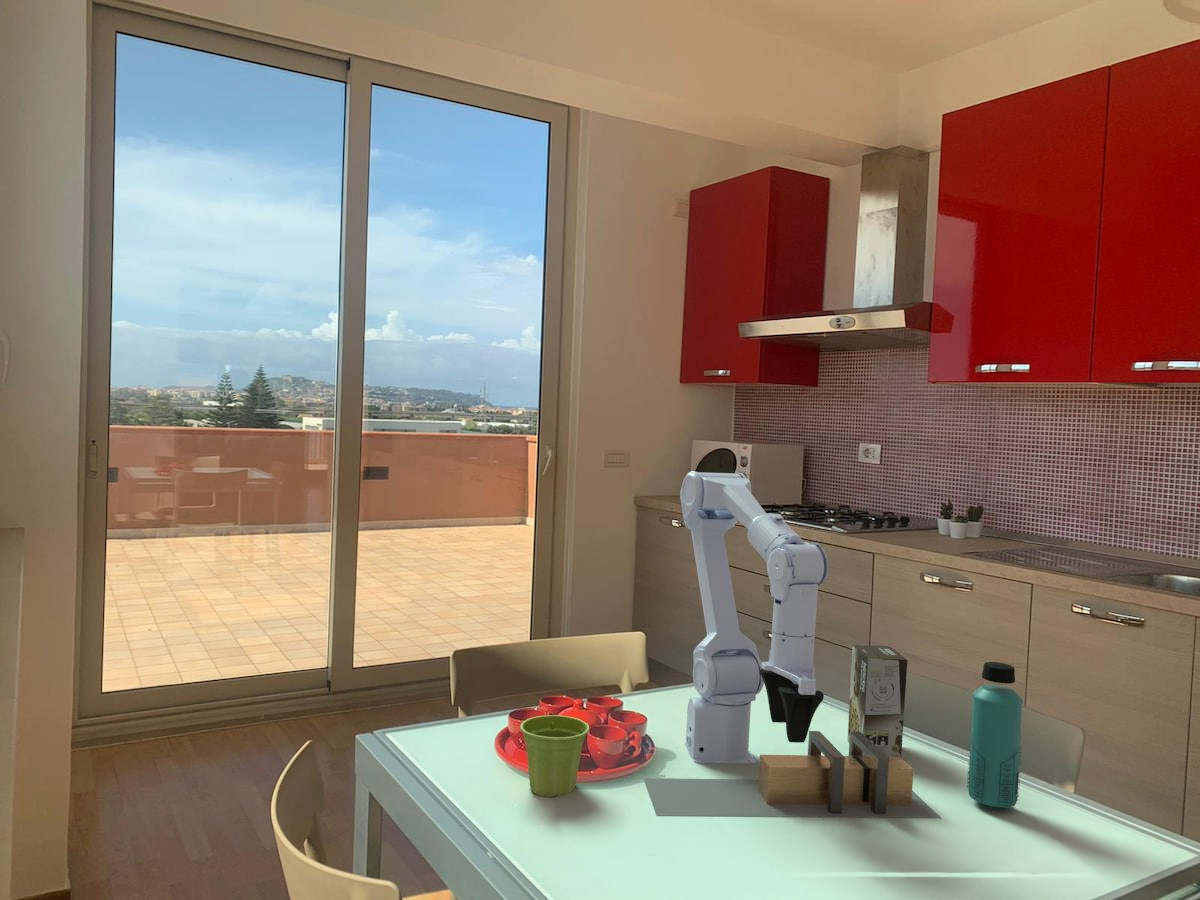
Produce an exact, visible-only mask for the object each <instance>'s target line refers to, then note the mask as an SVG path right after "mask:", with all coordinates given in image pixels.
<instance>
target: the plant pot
mask: <svg viewBox="0 0 1200 900" xmlns="http://www.w3.org/2000/svg"><path fill="white" fill-rule="evenodd" d="M519 729H520V731H521V732H522V733H523V740H524V742H525V746H526V747H525V748H526V757H527V768H528V780H529V788H530V789H531V791H532V793H534V794H536V795H539V796H543V797H547V798H549V797H550V798H552V797H554V796H557V795H558V796H563V795H568V794H569V793H572V792H574V790H575V789H576V784H577V776H578V771H579V766H580V760H581V753H582V749H583V744H584V742H585V740H586V736H587V734H588V733H589V731H590V726H589V724H588V722H585V721H583V720H582V719H580V718H577V717H572V716H568V715H561V714H559V715H558V714H557V715H556V714H555V715H553V714H552V715H551V714H547V715H539V716H533V717H530V718H527V719H525V720H523V721H522V722H521V723H520V727H519Z"/></svg>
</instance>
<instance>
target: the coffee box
mask: <svg viewBox="0 0 1200 900" xmlns="http://www.w3.org/2000/svg"><path fill="white" fill-rule="evenodd" d="M851 646H852V647H851V648H852V651H851V652H852V653H851V664H850V665H851V667H850V686H849V687H850V689H849V705H848V706H849V709H848V726H847V727H848V728H847V742H848V743H849V741H850V732H861V733H862V734H863V735H864V736H865V737H866V738H868V739H869V740H870V741H871V742H872V743H873V744H874V745H875V746H876V747H877V748H879V749H880V750H881V751H882V752H883V753H884V754H885V755H886V756H887V757H900V758H901V759H902V754H903V753H902V751H903V737H904V736H903V734H904V721H905V720H904V717H905V704H906V701H905V700H906V692H907V691H906V690H907V687H906V686H907V673H908V672H907V671H908V662H909V660H908V658H906V657H905V656H903V655H902V654H901V653H899V652H898V651H896V650H895V649H894V648H893V647H891V646H890V645H867V644H866V645H861V644H860V645H857V644H853V645H851ZM862 756H867V755H866V754H865V753H864V752H863V751H862Z"/></svg>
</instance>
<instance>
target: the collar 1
mask: <svg viewBox="0 0 1200 900" xmlns="http://www.w3.org/2000/svg"><path fill="white" fill-rule="evenodd" d="M807 744H808V746H807V755H816V756H822V754H823V756H826V757H827V758H828V759H829V760H830V773H829V790H828V807H827V810H828V811H829V812H830V814H842V799H843V782H844V764H845V757H844V756H845V755H843V753H841V751H840V750H838V749H837V747H835V745H834V744H833V743H831V742H830V740H829V739H828V738H827V737H826V736H825V735H824V734H823V733H822V732H821V731H820V730H808V743H807Z"/></svg>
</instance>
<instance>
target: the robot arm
mask: <svg viewBox="0 0 1200 900" xmlns="http://www.w3.org/2000/svg"><path fill="white" fill-rule="evenodd" d="M679 498H680V499H679V500H680V503H681V511H682V518H683V522H684V523H683V524H684V526H685V528H687V529H689V530H690V532H691V540H692V545H693V552H694V559H695V566H696V572H697V573H696V574H697V579H698V584H699V591H700V598H701V604H702V610H703V611H702V612H703V616H704V623H705V630H706V636H705V637H704V639H702V641H700V642H699V644H697V645H696V647H695V648H694V650H693V652H692V657H693V667H692V680H693V684H694V688H695V690H696V692H697V693H698V695H699V696H696V697H691V698H689V699H688V702H687V712H686V713H687V715H686V730H685V731H686V732H685V742H684V746H685V748H686V750H687V752H688V754H689V756H690V758H691V760H692V761H693V763H695V764H725V765H726V764H730V765H731V764H733V765H735V764H737V765H740V764H741V765H743V764H744V765H755V764H757V761H756V759H755V757H753V755H752V753H751V752H750V750H749V746H750V745H749V744H750V727H751V708H752V702H754V701H756V700H757V699H756V698H757V697H756V696H757V695H758V694H760V693H761V691H762V690H763V687H765V691H766V695H767V696H766V697H767V701H768V708H769V714H770V719H771V722H772V723H778V724H779V723H781V724H782V723H783V724H784V723H785V730H786V737H787V741H788V742H789V743H801V744H803V743H805V742H806V739H807V736H808V734H809V731H810V726H811V723H812V720H813V718H814V715H815V713H816V711H817V710H818V708H819V706H820V705H821V704H822V702H823V700H824V697H825V694H824V693H823V692H822V691H821V690H817V679H816V678H815V666H814V658H815V657H814V655H815V639H816V623H817V622H816V621H817V605H818V593H819V592H818V591H819V590H818V589H819V586H821V585H822V584H824V582H825V581H826V580H827V577H828V573H829V559H828V556H827V553H826V551H825V550H824V548H823V547H822V546H821V544H820V543H818V542H809V541H804V540H803V539H802V538H801V537H800V535H799V534H798V533H796V531H794V530H793V529H792V528H791V526H790V525H788V524H787V523H786V521H785V520H784V519H785V518H784V517H783V515H781V513H773V512H770V513H767V512H766V511H765V510H764V508H763V507H762V506H761V504H760V503H759V501H758V500H757V499H756V498H755V496H754V495H753V494H752V483H751V480H750V479H748V478H747V476H746V475H745V474H744V473H742V472H735V473H733V472H732V473H729V472H727V473H726V472H702V471H701V472H700V471H699V472H698V471H692V470H691V471H689V472H688V473H686V476H685V477H684V478H683V480H682V484H681V488H680V492H679ZM737 522H739V523H741V524H742V525H743V526H744V527H745V528H746V529H747V540H748V542H749V543H750V545H751V546H752V547H753V548H754V549H755V550H756V552H757V553H758V554H759V556H761V558H763V560H764V561H765V562H766V571H767V576H768V579H769V585H770V587H769V589H770V590H769V592H770V596H771V597H772V598H773V606H772V607H773V609H772V625H771V639H770V640H771V641H770V642H771V643H770V650H769V653H768V661H762V660H761V658H760V656H759V653H758V649H757V644H756V643H755V642H754V641H752V640H751V638H749V637H747V636H746V635H745V634H743V633H742V632H741V630H740V624H739V618H738V611H737V605H736V601H735V599H736V598H735V594H734V588H733V582H732V581H733V580H732V576H731V571H730V565H729V559H728V552H727V547H726V541H725V534H726V532H727V531H728V530H730V529H732V528H734V527H735V526H736V524H737Z"/></svg>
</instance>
